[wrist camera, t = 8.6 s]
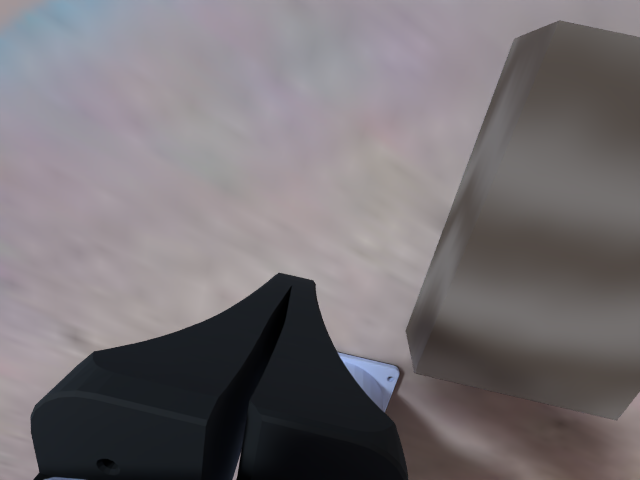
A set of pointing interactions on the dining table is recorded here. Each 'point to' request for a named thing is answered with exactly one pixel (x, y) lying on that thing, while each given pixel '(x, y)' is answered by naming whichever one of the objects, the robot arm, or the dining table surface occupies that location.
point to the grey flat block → (545, 233)
